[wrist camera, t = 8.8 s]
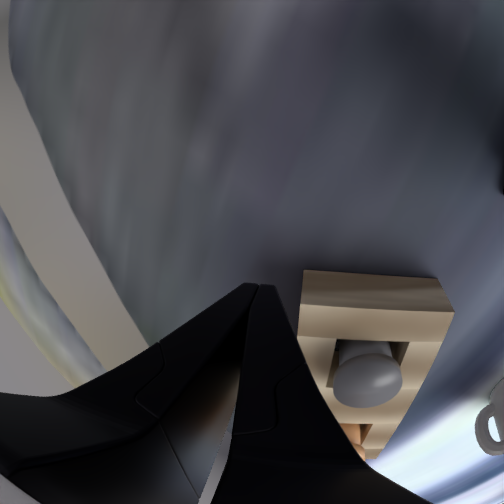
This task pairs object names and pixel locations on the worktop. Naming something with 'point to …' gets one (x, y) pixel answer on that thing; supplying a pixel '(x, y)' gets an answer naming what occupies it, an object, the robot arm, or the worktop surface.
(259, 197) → the worktop surface
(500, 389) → the cup
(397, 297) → the housing
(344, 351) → the grey mushroom knob
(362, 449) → the mushroom knob terracotta
